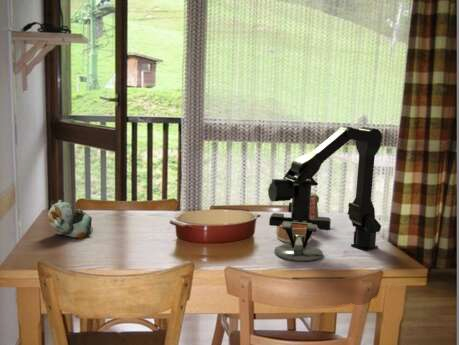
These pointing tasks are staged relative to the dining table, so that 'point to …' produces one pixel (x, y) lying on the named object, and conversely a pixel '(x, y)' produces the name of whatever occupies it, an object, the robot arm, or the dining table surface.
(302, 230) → the bowl
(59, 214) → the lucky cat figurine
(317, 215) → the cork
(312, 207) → the soda can
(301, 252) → the lid
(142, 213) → the dining table surface
